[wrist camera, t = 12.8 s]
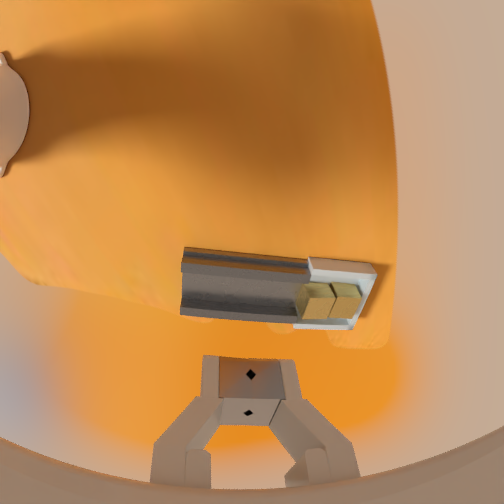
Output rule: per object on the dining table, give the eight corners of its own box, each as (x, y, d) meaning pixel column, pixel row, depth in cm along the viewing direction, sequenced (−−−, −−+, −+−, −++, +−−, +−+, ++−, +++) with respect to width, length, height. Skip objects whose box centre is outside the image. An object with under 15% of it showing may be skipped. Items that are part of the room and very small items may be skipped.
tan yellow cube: (295, 303, 45) (301, 319, 42) (302, 282, 43) (310, 297, 40) (319, 303, 46) (326, 318, 43) (327, 282, 44) (335, 298, 41)
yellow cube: (322, 302, 46) (328, 317, 43) (331, 281, 44) (337, 296, 41) (345, 304, 47) (352, 318, 44) (354, 284, 45) (362, 298, 42)
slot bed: (182, 303, 45) (180, 317, 43) (184, 247, 40) (181, 259, 38) (291, 312, 48) (294, 326, 45) (307, 259, 43) (312, 272, 40)
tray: (290, 315, 48) (293, 328, 45) (308, 256, 42) (313, 268, 40) (347, 317, 49) (352, 329, 47) (370, 263, 44) (377, 274, 41)
